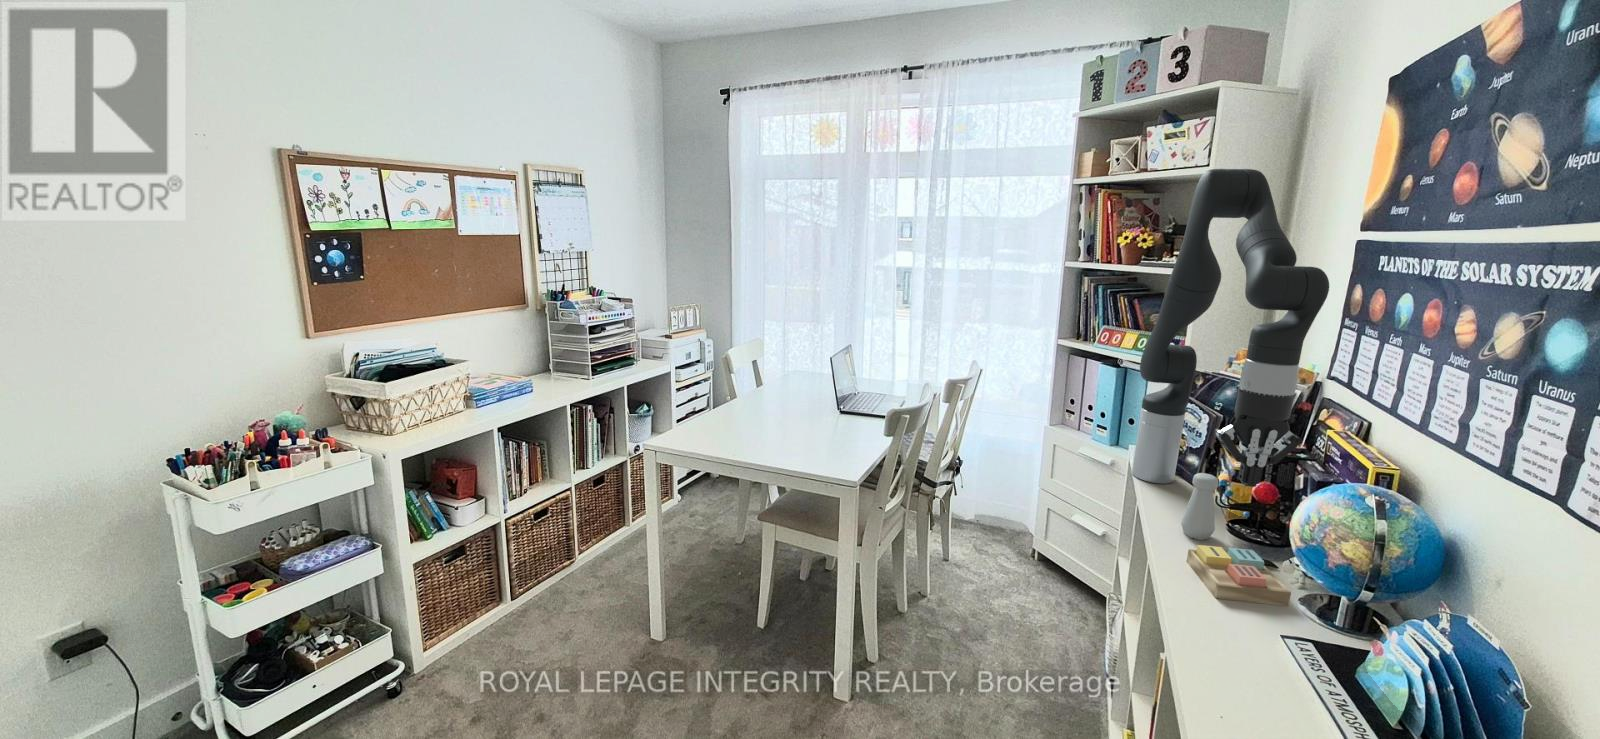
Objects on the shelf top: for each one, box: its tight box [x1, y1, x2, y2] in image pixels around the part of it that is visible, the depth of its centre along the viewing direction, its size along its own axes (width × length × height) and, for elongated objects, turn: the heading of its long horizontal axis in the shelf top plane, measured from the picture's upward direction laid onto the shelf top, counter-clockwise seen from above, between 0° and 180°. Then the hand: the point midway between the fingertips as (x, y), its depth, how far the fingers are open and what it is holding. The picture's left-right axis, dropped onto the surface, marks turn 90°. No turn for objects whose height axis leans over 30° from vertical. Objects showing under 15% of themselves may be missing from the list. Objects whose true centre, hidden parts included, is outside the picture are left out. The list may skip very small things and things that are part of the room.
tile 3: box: [1227, 564, 1267, 588], centre depth 107 cm, size 4×4×2 cm
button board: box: [1186, 548, 1292, 607], centre depth 110 cm, size 12×11×2 cm
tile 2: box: [1226, 547, 1265, 570], centre depth 112 cm, size 4×4×2 cm
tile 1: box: [1195, 544, 1232, 567], centre depth 113 cm, size 4×4×2 cm
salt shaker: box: [1180, 472, 1219, 541], centre depth 125 cm, size 6×6×13 cm
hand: (1247, 484), depth 108 cm, fingers closed
